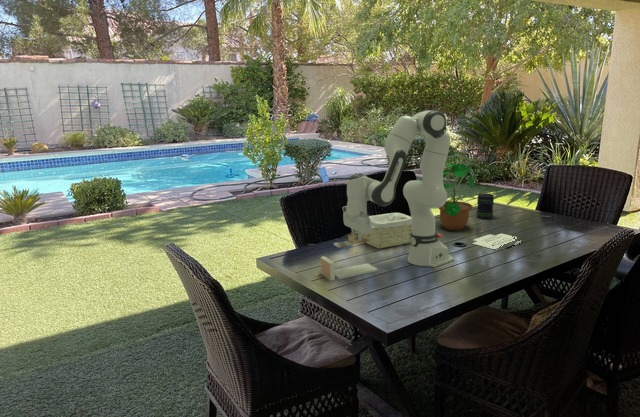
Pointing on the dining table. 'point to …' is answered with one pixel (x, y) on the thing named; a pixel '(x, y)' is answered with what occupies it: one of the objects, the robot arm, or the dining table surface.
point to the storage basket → (390, 230)
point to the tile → (328, 268)
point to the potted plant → (455, 211)
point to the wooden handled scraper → (352, 240)
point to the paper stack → (495, 240)
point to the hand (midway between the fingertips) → (357, 239)
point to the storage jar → (485, 206)
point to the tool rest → (354, 271)
